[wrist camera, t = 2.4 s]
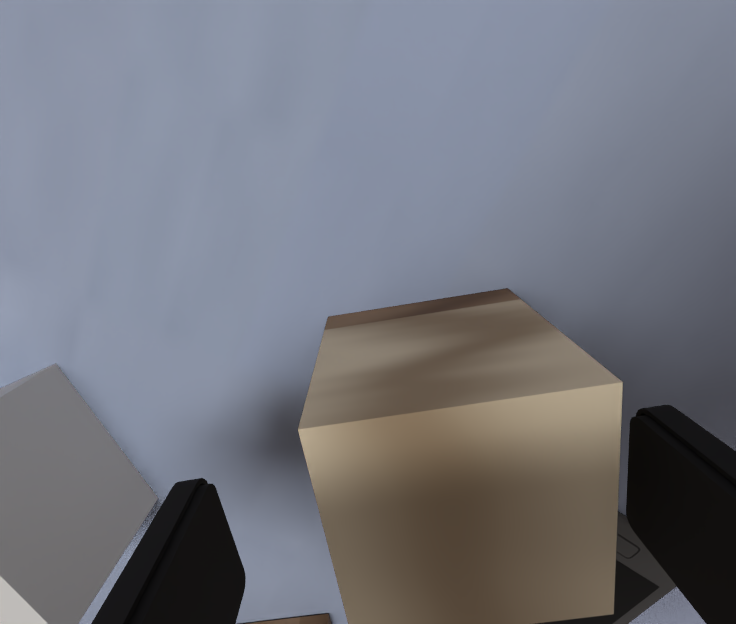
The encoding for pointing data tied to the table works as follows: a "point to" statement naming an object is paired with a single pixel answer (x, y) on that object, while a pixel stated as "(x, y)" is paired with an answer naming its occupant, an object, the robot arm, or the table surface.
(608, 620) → the cell phone
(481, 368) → the tan cube
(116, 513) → the white cube
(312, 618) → the dock
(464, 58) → the table surface
